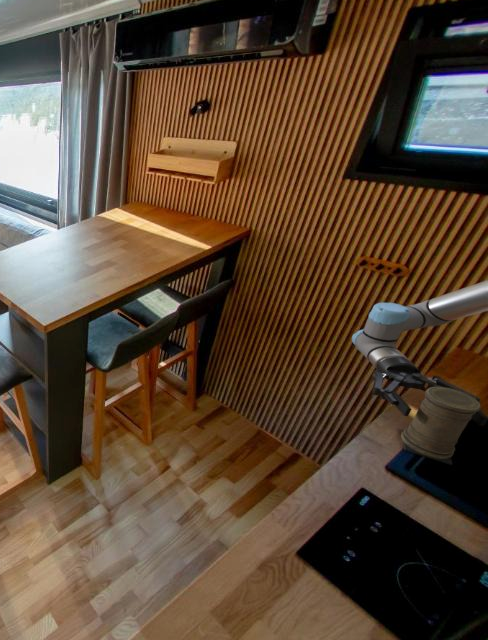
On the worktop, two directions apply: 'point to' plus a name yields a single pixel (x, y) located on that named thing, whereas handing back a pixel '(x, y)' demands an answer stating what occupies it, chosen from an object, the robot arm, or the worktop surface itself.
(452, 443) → the container
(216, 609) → the worktop surface
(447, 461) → the base pad
